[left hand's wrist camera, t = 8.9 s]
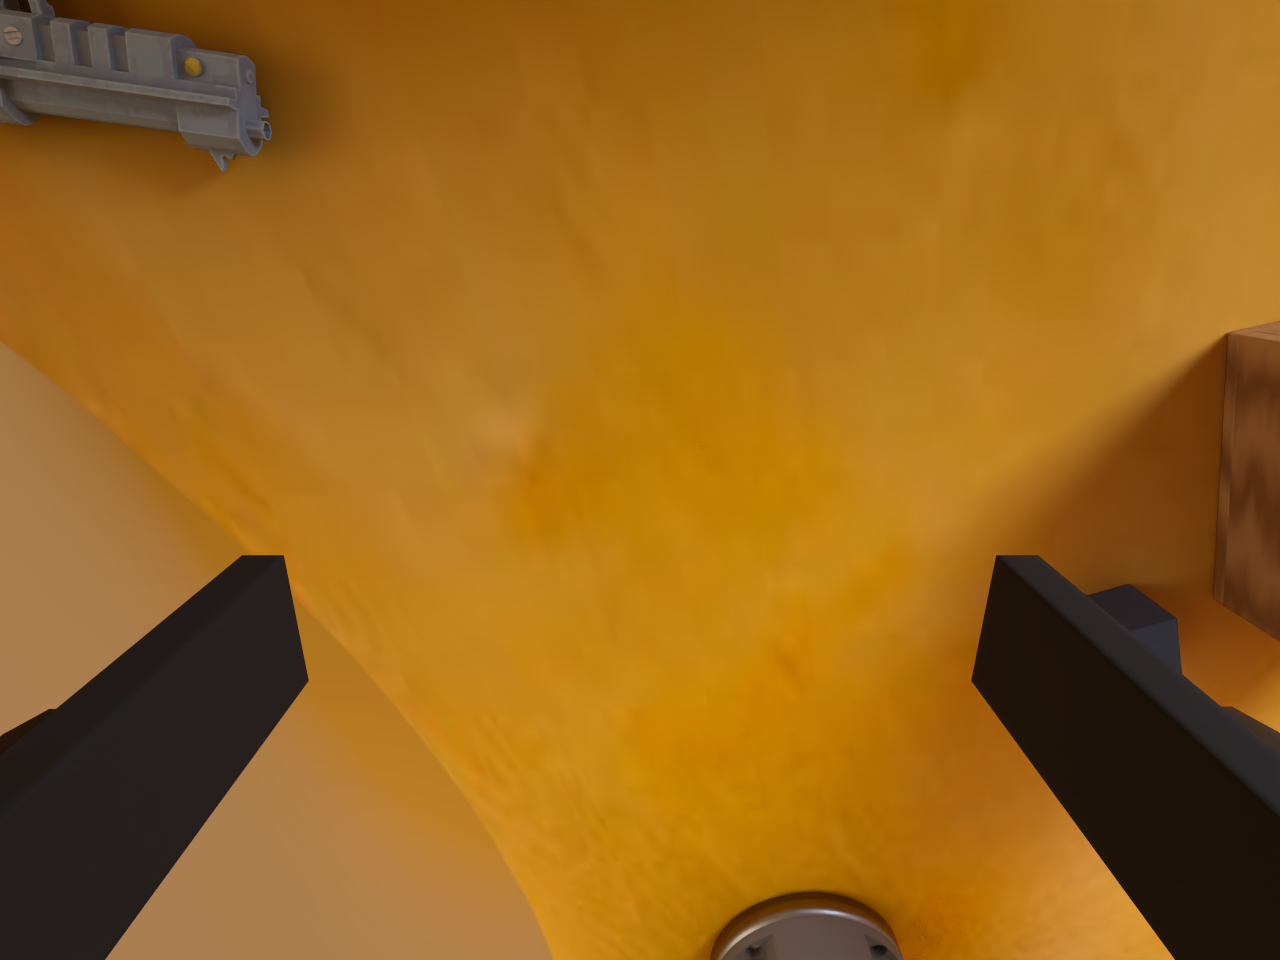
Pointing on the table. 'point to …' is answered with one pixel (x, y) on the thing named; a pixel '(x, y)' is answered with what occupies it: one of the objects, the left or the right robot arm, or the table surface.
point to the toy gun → (127, 80)
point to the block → (1143, 620)
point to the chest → (1250, 480)
